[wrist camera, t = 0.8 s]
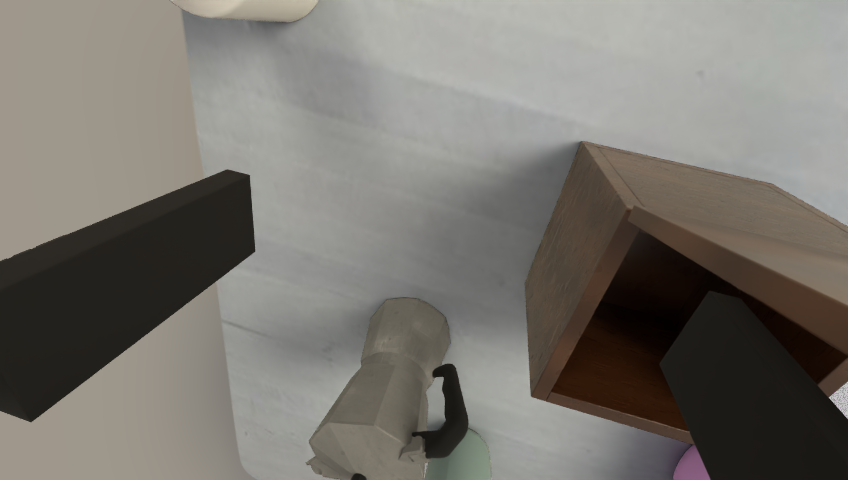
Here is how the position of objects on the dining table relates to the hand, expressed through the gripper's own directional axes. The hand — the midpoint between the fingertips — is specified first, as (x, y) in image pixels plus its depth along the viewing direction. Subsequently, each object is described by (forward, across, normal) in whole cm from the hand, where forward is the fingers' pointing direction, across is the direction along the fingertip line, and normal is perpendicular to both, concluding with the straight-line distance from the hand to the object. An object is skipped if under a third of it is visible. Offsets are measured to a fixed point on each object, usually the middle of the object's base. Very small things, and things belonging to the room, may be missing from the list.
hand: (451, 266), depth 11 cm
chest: (+22, +14, -6) cm, 26 cm away
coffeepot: (+22, -3, -22) cm, 31 cm away
